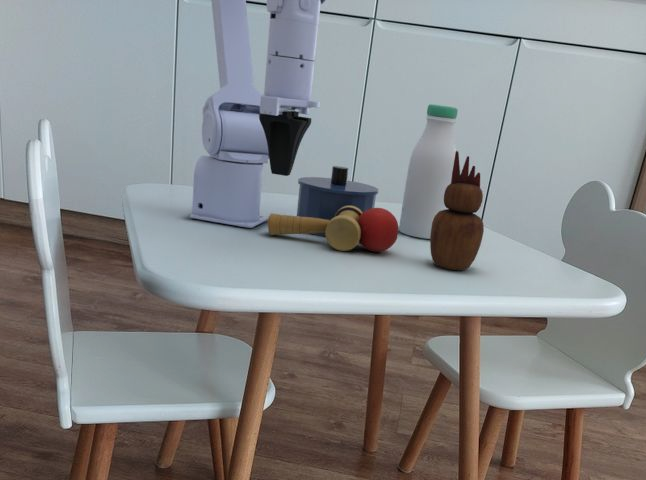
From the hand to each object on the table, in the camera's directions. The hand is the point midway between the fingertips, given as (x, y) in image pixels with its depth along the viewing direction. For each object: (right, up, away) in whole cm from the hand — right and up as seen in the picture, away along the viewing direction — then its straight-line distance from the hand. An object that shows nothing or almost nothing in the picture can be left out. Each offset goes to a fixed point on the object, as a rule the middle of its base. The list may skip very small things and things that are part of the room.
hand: (280, 174), depth 86 cm
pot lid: (+7, +2, +17) cm, 18 cm away
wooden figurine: (+22, -11, +6) cm, 26 cm away
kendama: (+6, -8, +9) cm, 13 cm away
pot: (+6, -4, +19) cm, 20 cm away
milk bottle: (+20, -4, +25) cm, 33 cm away
